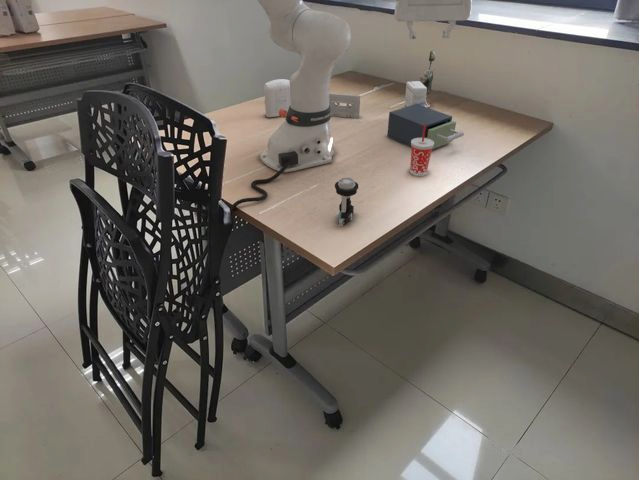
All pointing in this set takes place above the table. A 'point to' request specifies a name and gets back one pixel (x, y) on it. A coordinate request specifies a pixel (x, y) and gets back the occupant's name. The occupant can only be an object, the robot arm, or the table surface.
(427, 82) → the plant with pod
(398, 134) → the cabinet
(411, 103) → the ink box
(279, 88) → the photo printer
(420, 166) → the beverage cup
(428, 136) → the drawer
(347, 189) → the push button
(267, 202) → the table surface
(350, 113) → the cassette
